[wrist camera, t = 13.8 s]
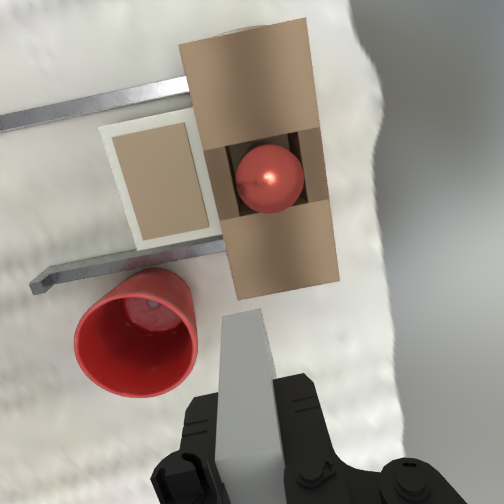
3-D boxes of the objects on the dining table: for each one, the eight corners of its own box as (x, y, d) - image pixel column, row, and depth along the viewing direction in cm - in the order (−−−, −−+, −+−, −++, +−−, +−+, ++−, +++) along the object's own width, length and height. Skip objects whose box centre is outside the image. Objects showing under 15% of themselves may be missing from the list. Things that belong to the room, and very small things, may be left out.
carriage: (148, 234, 41) (135, 253, 35) (115, 124, 37) (95, 127, 32) (224, 219, 40) (222, 236, 35) (199, 107, 37) (192, 106, 31)
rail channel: (53, 276, 42) (33, 295, 38) (-10, 120, 37) (-42, 121, 33) (236, 240, 41) (235, 255, 37) (199, 76, 36) (194, 71, 32)
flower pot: (88, 275, 42) (47, 320, 33) (182, 239, 41) (166, 276, 32) (133, 353, 46) (107, 413, 37) (220, 322, 45) (216, 377, 36)
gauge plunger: (242, 194, 34) (243, 219, 26) (231, 142, 32) (229, 153, 25) (292, 184, 34) (308, 206, 26) (284, 132, 32) (298, 138, 25)
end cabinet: (238, 248, 42) (237, 300, 30) (196, 60, 35) (176, 37, 24) (312, 234, 41) (339, 280, 30) (283, 41, 35) (304, 9, 24)
